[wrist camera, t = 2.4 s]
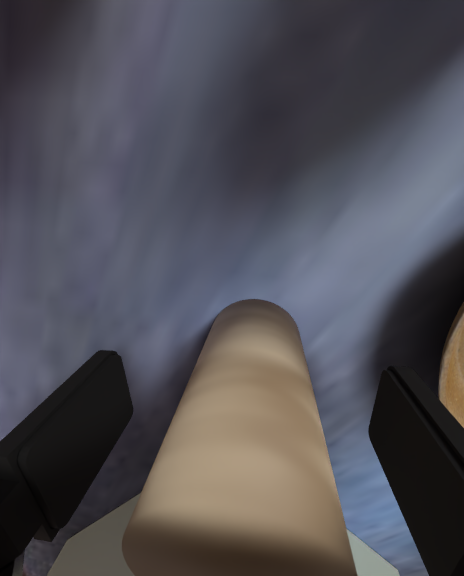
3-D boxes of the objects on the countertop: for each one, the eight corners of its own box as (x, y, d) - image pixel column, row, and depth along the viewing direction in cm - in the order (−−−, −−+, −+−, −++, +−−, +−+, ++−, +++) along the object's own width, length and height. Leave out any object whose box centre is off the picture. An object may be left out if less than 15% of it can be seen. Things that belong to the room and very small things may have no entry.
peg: (319, 343, 11) (416, 612, 4) (254, 389, 13) (237, 646, 6) (254, 280, 11) (226, 465, 3) (193, 336, 12) (82, 548, 5)
